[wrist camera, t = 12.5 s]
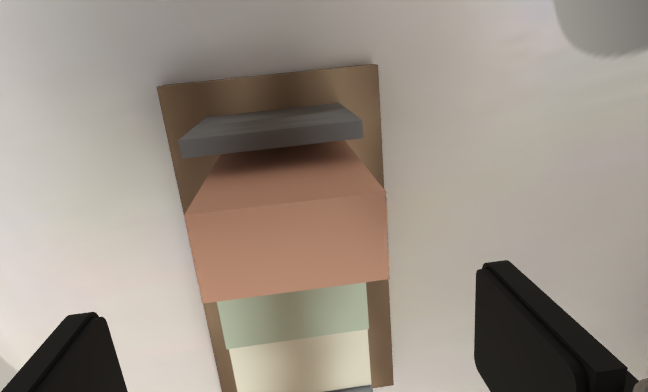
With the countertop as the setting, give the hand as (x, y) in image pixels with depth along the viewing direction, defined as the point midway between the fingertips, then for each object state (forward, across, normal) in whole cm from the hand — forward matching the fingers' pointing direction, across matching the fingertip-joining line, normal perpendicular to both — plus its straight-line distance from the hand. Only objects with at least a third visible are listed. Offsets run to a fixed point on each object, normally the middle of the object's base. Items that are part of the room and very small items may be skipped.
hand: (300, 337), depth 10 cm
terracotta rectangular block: (+17, 0, 0) cm, 17 cm away
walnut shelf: (+18, +1, +6) cm, 19 cm away
